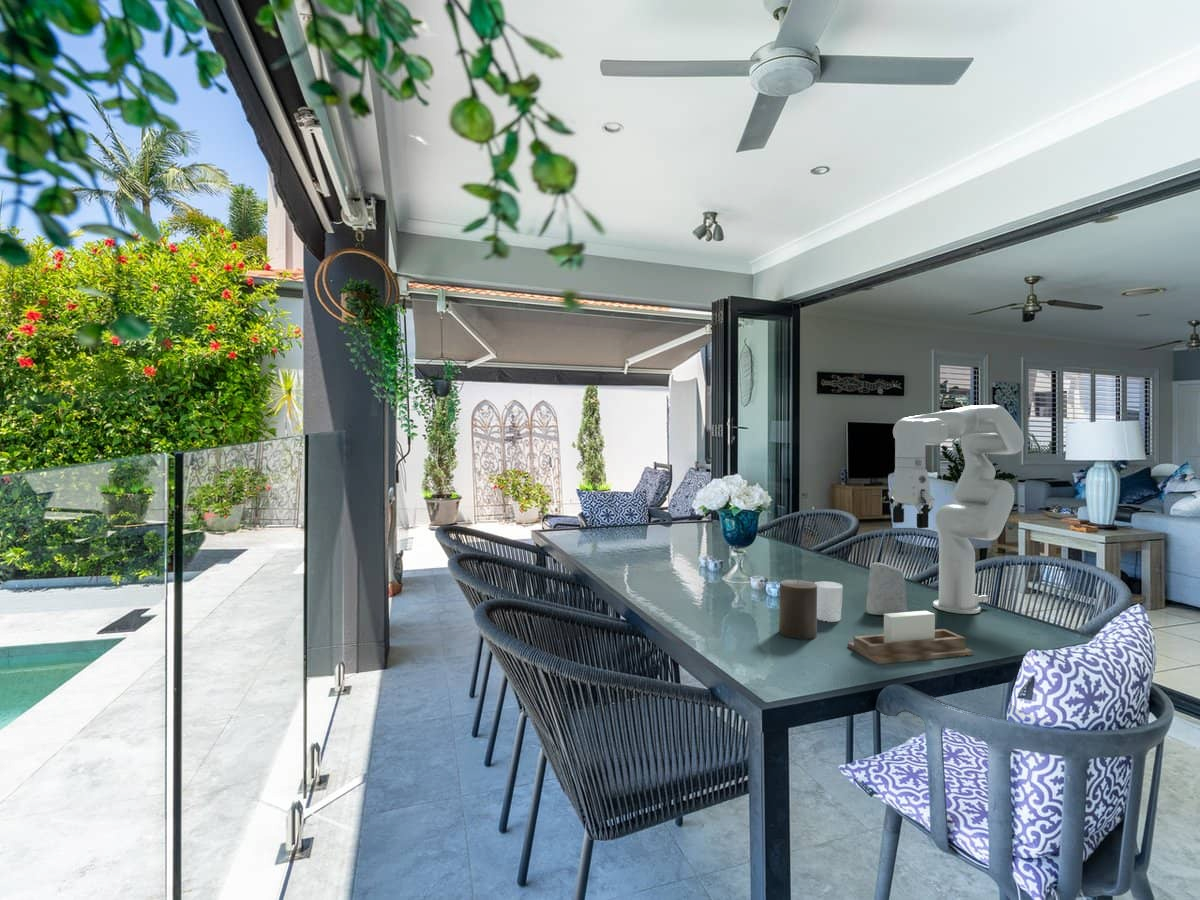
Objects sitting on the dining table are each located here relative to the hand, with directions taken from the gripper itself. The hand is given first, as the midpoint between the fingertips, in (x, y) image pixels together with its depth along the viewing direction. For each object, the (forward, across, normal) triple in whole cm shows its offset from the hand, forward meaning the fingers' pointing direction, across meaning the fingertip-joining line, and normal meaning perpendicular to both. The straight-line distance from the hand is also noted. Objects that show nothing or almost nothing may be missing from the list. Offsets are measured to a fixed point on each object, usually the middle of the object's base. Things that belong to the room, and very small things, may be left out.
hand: (910, 525), depth 173 cm
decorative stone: (+28, +10, 0) cm, 30 cm away
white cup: (+28, +10, +19) cm, 36 cm away
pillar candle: (+28, 0, +34) cm, 44 cm away
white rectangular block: (+27, -18, +14) cm, 35 cm away
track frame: (+28, -18, +14) cm, 36 cm away
